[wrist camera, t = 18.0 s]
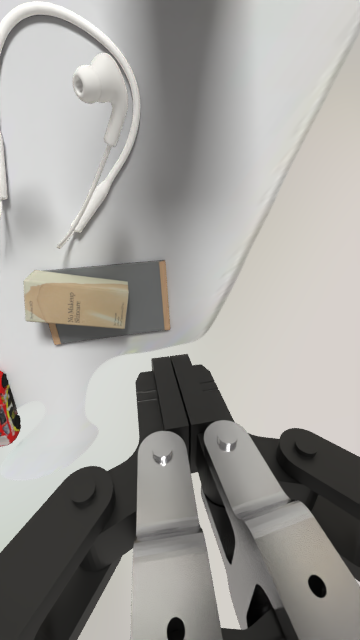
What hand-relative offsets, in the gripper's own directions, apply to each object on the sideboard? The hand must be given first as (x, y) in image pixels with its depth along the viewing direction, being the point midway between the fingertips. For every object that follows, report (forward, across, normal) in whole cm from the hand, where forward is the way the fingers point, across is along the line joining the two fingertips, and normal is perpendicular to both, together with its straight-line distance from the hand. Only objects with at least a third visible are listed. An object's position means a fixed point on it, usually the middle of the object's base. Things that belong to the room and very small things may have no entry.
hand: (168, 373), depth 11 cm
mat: (+25, +4, +7) cm, 26 cm away
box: (+22, +2, +6) cm, 23 cm away
